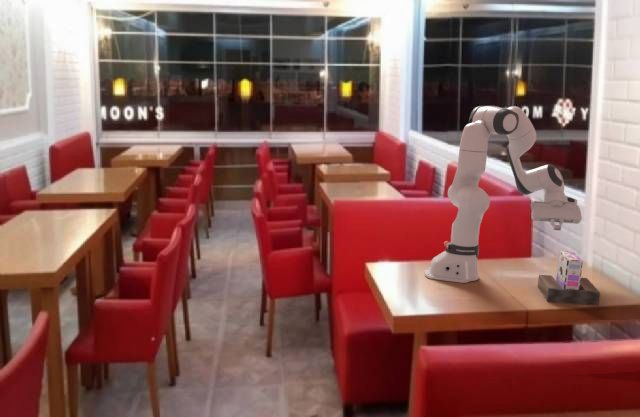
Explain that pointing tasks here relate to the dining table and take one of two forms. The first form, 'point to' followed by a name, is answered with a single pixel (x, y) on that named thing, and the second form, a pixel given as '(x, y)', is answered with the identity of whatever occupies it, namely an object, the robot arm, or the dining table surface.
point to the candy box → (569, 270)
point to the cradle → (568, 291)
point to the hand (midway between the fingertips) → (557, 229)
